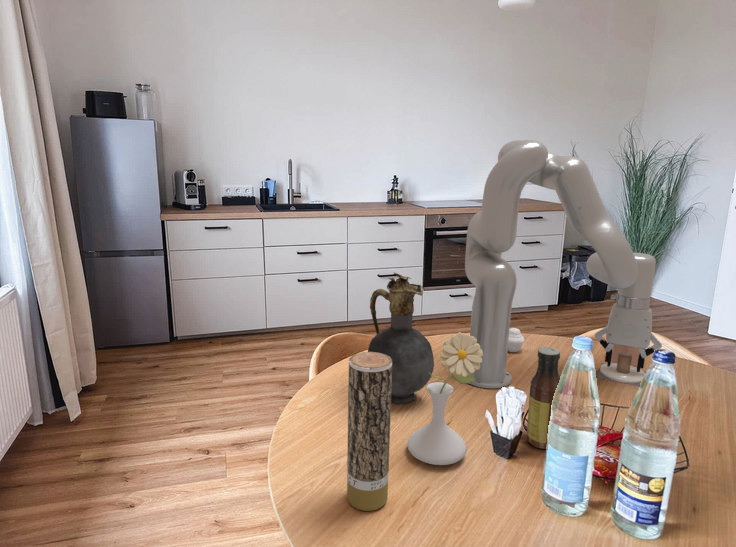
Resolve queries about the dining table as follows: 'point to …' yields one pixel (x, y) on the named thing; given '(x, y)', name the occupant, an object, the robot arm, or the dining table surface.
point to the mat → (613, 380)
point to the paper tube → (368, 429)
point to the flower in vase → (437, 437)
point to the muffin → (515, 340)
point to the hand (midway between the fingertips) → (623, 366)
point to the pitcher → (402, 341)
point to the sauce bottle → (542, 396)
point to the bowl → (625, 349)
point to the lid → (622, 370)
